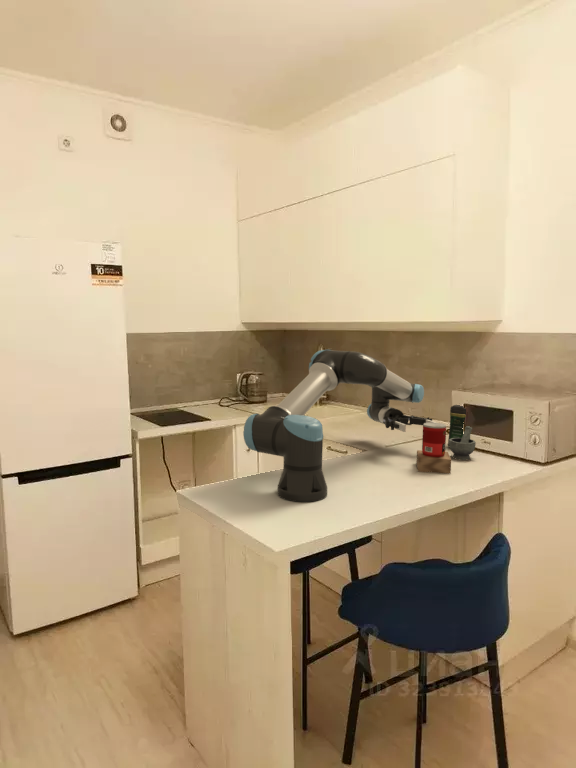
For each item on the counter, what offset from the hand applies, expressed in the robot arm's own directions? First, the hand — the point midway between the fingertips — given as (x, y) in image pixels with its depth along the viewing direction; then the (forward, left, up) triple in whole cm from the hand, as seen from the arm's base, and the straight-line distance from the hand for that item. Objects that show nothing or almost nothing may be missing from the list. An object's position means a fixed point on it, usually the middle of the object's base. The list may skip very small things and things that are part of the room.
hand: (420, 427), depth 201 cm
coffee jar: (+18, +28, -13) cm, 36 cm away
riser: (+4, -8, -13) cm, 16 cm away
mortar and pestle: (+17, +11, -13) cm, 24 cm away
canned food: (+4, -8, -8) cm, 12 cm away
